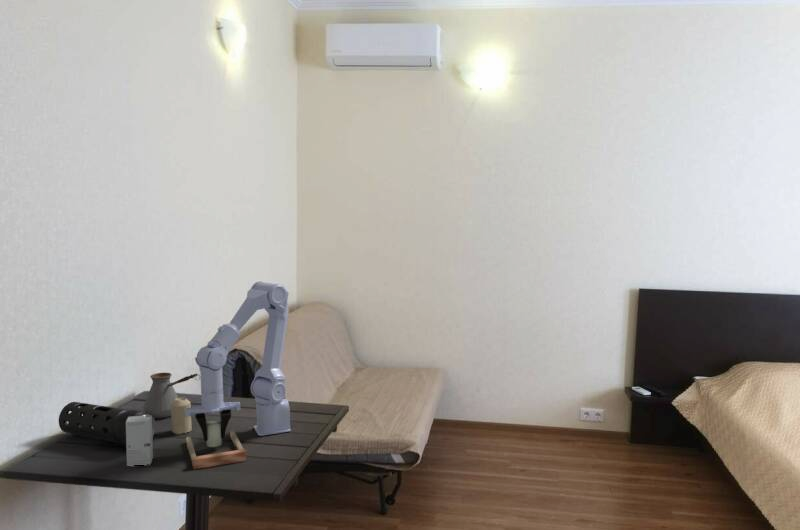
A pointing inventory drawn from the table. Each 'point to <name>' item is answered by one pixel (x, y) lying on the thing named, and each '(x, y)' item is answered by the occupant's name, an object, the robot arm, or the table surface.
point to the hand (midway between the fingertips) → (214, 438)
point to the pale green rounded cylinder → (213, 433)
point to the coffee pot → (162, 395)
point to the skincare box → (139, 440)
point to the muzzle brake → (98, 421)
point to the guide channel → (217, 455)
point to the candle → (180, 416)
